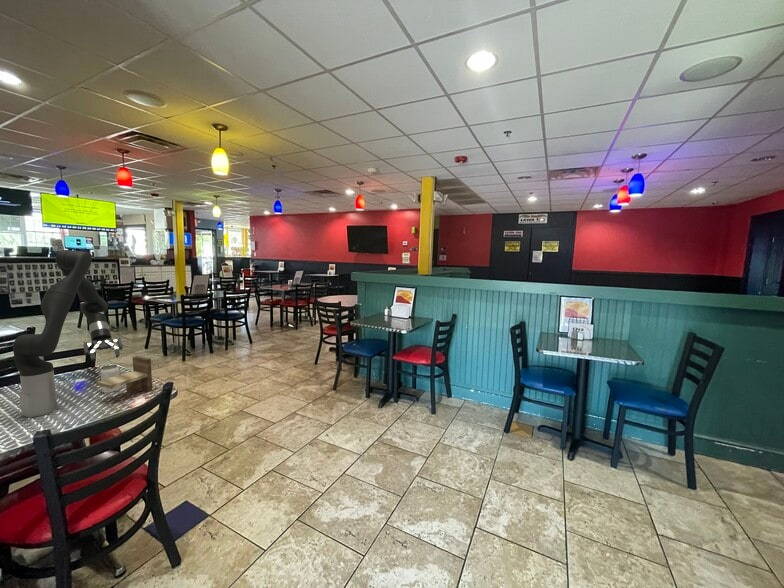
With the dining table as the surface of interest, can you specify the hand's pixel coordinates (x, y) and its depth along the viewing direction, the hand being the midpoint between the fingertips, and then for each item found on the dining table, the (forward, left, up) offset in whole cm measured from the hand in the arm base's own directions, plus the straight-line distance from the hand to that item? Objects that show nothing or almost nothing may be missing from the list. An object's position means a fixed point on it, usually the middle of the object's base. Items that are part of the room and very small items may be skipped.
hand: (106, 358), depth 156 cm
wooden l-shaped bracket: (-3, -18, -15) cm, 23 cm away
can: (-2, -6, -15) cm, 16 cm away
